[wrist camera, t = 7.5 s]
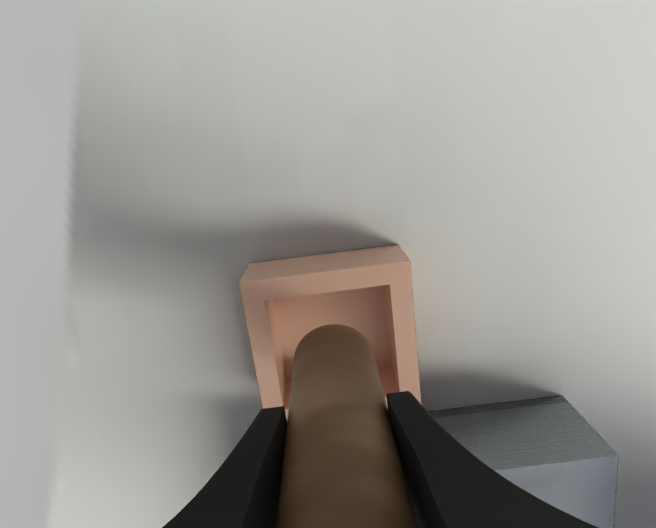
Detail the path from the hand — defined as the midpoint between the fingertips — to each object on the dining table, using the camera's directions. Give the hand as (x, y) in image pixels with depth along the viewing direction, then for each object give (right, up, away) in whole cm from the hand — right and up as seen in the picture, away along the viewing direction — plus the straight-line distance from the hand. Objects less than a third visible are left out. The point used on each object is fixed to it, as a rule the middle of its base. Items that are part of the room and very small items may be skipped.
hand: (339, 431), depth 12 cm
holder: (0, +2, +7) cm, 7 cm away
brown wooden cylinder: (0, +1, +3) cm, 4 cm away
